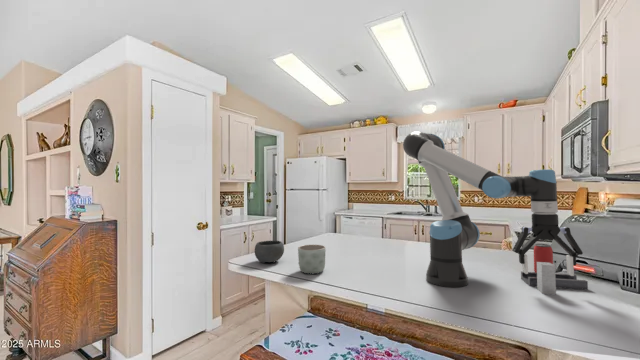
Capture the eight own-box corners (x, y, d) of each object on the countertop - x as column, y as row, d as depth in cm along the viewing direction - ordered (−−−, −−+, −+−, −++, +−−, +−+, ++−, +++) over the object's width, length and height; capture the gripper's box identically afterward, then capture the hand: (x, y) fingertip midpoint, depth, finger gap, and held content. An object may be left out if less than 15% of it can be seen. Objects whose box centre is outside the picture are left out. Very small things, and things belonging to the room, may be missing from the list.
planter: (320, 276, 126) (320, 251, 126) (293, 274, 130) (293, 249, 130) (329, 268, 138) (328, 245, 138) (304, 266, 142) (304, 243, 142)
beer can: (556, 275, 123) (556, 246, 123) (538, 275, 124) (538, 246, 124) (548, 271, 129) (547, 243, 129) (531, 270, 131) (530, 243, 131)
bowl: (249, 265, 145) (249, 245, 146) (260, 258, 160) (260, 239, 160) (279, 266, 143) (278, 245, 143) (287, 258, 158) (287, 240, 158)
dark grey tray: (529, 286, 111) (529, 277, 111) (521, 278, 119) (520, 271, 120) (587, 289, 106) (587, 281, 107) (574, 282, 115) (574, 274, 115)
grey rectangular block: (542, 293, 104) (541, 264, 104) (537, 289, 107) (536, 261, 108) (555, 294, 102) (555, 265, 103) (550, 290, 106) (549, 262, 106)
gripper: (508, 214, 105) (511, 275, 104) (593, 214, 98) (597, 278, 98) (501, 212, 112) (504, 269, 112) (580, 212, 106) (583, 272, 105)
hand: (547, 274), depth 105 cm, fingers open, 13 cm apart
